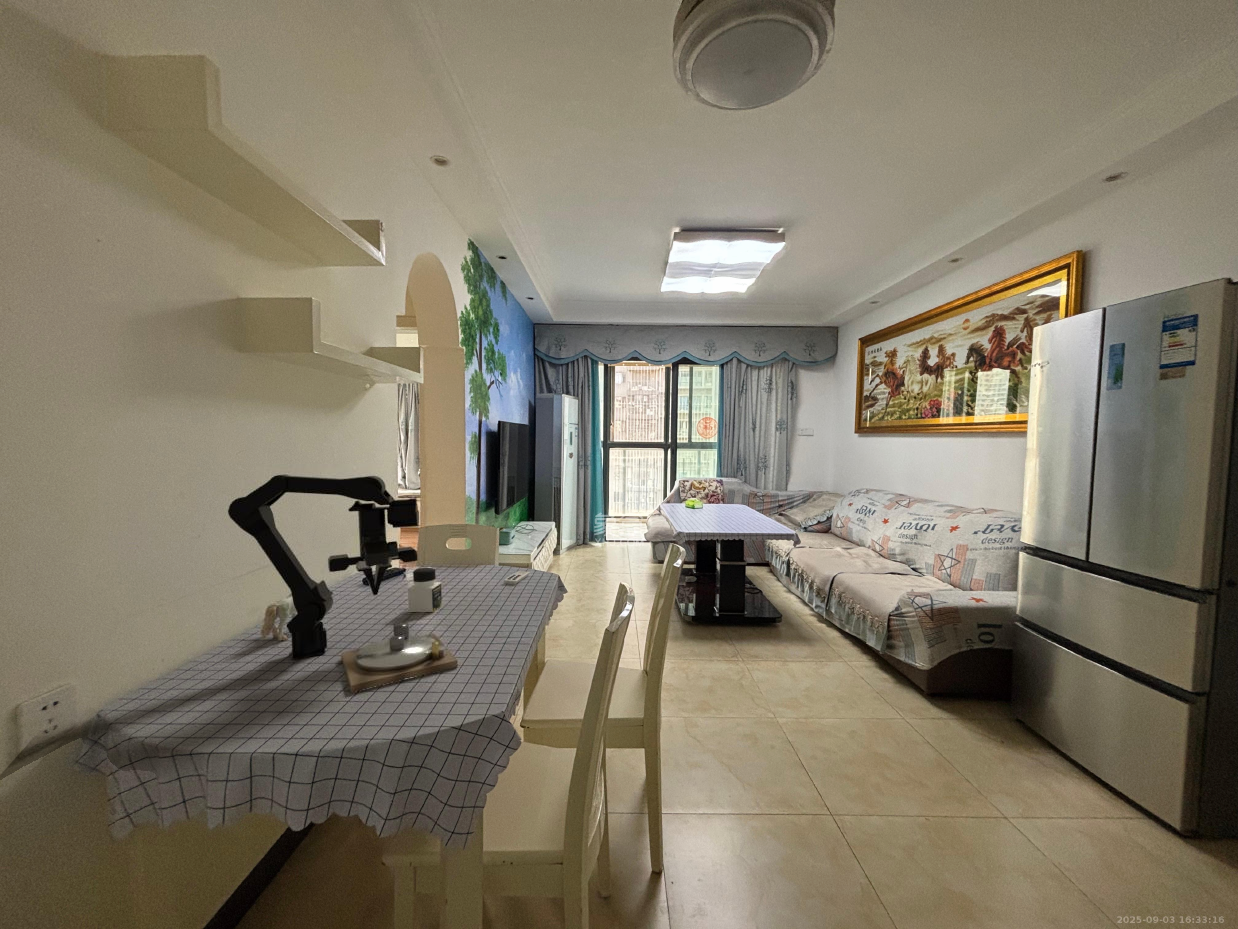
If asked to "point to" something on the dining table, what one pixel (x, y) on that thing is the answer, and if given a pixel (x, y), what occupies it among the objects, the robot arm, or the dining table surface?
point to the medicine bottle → (424, 591)
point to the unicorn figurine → (278, 610)
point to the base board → (368, 679)
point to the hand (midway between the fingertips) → (375, 594)
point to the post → (397, 642)
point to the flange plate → (397, 652)
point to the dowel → (435, 650)
